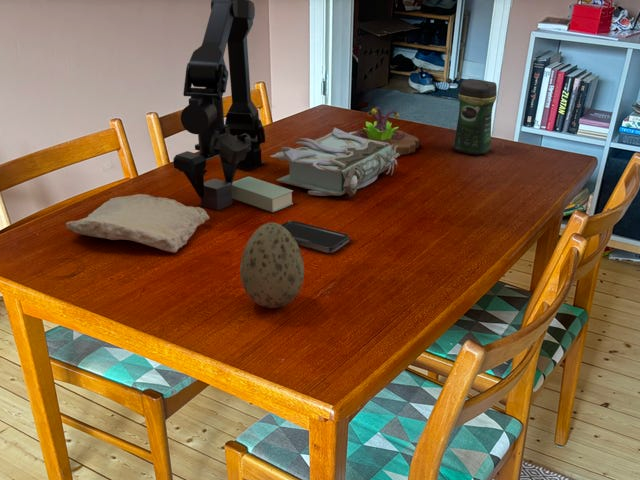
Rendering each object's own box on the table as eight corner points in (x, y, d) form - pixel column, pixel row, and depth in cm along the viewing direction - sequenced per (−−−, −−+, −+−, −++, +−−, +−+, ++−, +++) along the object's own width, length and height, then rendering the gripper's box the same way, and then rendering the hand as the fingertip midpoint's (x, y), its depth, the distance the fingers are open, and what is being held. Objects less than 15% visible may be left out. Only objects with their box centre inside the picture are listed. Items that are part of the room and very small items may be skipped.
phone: (290, 219, 157) (351, 235, 151) (290, 224, 158) (351, 240, 152) (268, 232, 152) (331, 249, 145) (268, 237, 152) (331, 254, 146)
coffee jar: (493, 150, 203) (503, 80, 193) (480, 157, 198) (489, 85, 188) (462, 144, 208) (470, 74, 198) (448, 150, 203) (455, 79, 193)
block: (201, 205, 166) (199, 184, 164) (216, 199, 170) (214, 178, 167) (217, 210, 164) (216, 189, 161) (232, 204, 168) (231, 182, 165)
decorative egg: (316, 308, 128) (316, 227, 120) (262, 326, 122) (258, 242, 114) (283, 284, 135) (281, 206, 127) (231, 300, 130) (225, 220, 122)
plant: (327, 145, 205) (327, 104, 199) (377, 132, 216) (378, 92, 210) (379, 164, 193) (381, 120, 186) (428, 149, 204) (432, 107, 198)
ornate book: (345, 209, 168) (407, 169, 189) (346, 168, 163) (409, 131, 183) (265, 189, 178) (332, 153, 199) (263, 150, 173) (332, 117, 193)
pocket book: (228, 197, 171) (227, 183, 169) (249, 189, 176) (248, 176, 174) (272, 212, 164) (272, 198, 162) (293, 204, 168) (293, 190, 166)
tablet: (166, 266, 142) (213, 219, 157) (159, 231, 138) (208, 186, 152) (60, 251, 149) (115, 207, 164) (50, 217, 145) (107, 175, 159)
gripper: (208, 138, 146) (214, 212, 155) (268, 117, 160) (270, 187, 168) (168, 128, 152) (175, 201, 160) (228, 109, 165) (232, 177, 173)
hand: (215, 191), depth 165 cm, fingers open, 9 cm apart
